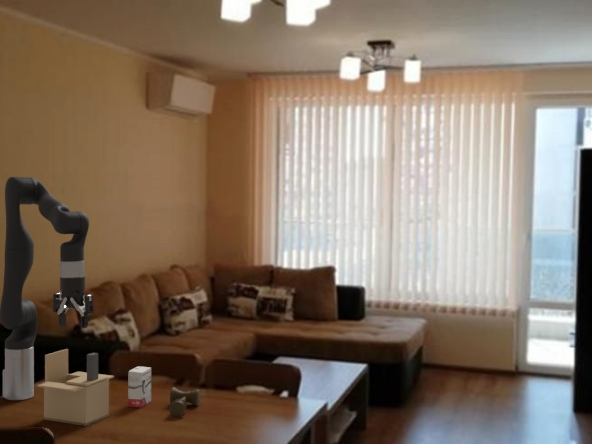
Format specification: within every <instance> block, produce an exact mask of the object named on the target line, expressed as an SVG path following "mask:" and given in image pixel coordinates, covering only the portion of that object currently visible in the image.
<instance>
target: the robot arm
mask: <svg viewBox="0 0 592 444" xmlns="http://www.w3.org/2000/svg"><path fill="white" fill-rule="evenodd" d="M4 203H5V204H4V206H5V243H4V270H3V271H4V272H3V273H4V274H3V285H2V286H3V287H2V295H1V300H0V322H1V324H2V326H4V328H6V329H7V330H12V332H11V333H10V335H9V336H8V337H7V338H6V339H5V340H4V358H5V359H4V368H3V370H2V398H4V399H5V400H8V401H23V400H24V401H25V400H28V399H32V398H33V397H34V396H35V394H34V393H35V392H34V391H35V389H34V387H35V386H34V385H35V384H34V383H35V377H34V376H35V373H34V372H35V370H34V369H35V367H34V366H35V358H34V357H35V351H34V350H35V347H34V346H35V345H34V344H35V343H34V342H35V340H36V337H37V328H38V327H37V326H38V312H37V311H38V310H37V307H36V305H35V303H34V302H33V301H32V300H30V299H23V289H24V285H25V283H26V280H27V279H28V276H29V274H30V272H31V270H32V267H33V265H34V258H35V257H34V255H35V243H34V240H33V237H32V235H31V234H30V233H29V231H28V229H27V228H26V226H25V224H24V222H23V220H22V217H21V208H20V207H21V206H20V205H29V206H30V205H35V206H36V205H37V206H38V212H39V214H40V215H41V216H42V217H43V218H44V219H45V220H47V221H48V222H50V224H51V226H52V227H53V229H54V231H55V232H56V233H58V234H60V235H72V237H71V239H70V240H69V241H66V242H62V243H61V245H60V248H59V249H60V250H59V251H60V253H59V254H60V255H59V257H60V259H59V260H60V264H59V290H60V292H56V293H55V292H54V293H53V294H52V295H53V299H52V311H53V313H56V314H57V315H58V325H59V327H62V328H63V327H66V326H67V314H66V313H67V311H68V310H69V309H76V311H78V312H79V314H80V328H81V329H86V328H88V326H89V315H91V314H92V315H93V314H94V312H95V309H94V298H93V297H94V296H93V293H92V294H85V290H86V267H85V266H86V264H85V248H84V247H85V244H86V239H87V236H88V232H89V227H90V219H89V217H88V215H87V214H86V212H84V211H79V210H77V211H71V210H70V208H69V207H68V206H67V205H66V204H64V203H63V202H61V200H58V199H57V198H56V197H55V196H53V195H52V194H51V192H50V191H49V190H48V189H47V188H46V187H45V186H44V185H43V182H41V181H40V180H38V179H37V178H35V177H29V176H28V177H26V176H11V177H10V176H9V178H7V180H6V181H5V186H4Z"/></svg>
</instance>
